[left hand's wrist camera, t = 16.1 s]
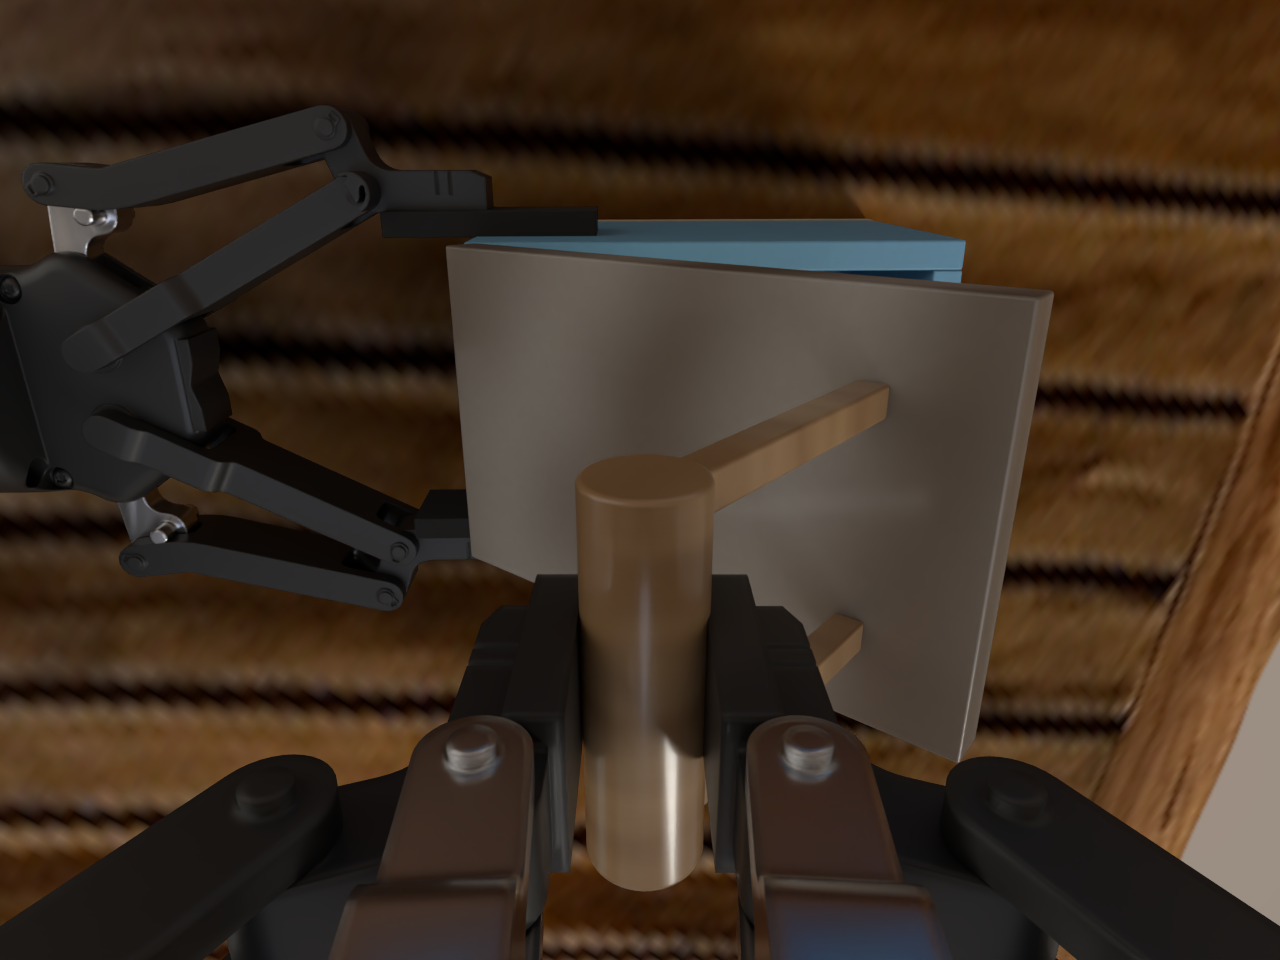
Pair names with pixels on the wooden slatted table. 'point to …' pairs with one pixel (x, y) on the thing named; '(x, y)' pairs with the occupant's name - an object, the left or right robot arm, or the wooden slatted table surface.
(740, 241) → the chest
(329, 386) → the wooden slatted table surface
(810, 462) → the lid
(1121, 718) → the wooden slatted table surface
